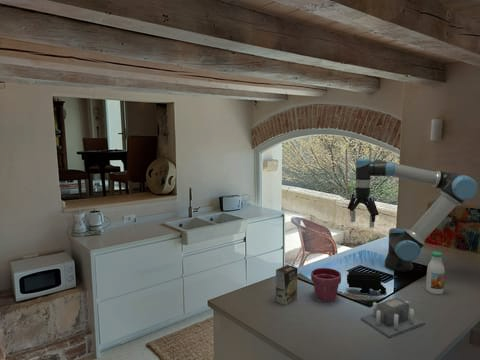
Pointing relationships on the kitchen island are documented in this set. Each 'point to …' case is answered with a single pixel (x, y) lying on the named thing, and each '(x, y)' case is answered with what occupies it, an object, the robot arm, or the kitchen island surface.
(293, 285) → the coffee box
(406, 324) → the tray
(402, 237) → the robot arm
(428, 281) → the milk bottle
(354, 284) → the security camera
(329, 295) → the plant pot
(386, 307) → the grey block
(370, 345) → the kitchen island surface
